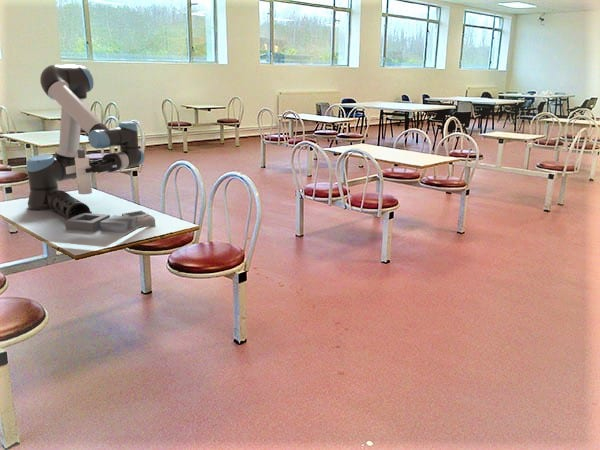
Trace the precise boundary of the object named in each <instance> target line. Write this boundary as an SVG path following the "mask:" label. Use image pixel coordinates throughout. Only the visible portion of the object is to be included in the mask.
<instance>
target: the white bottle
mask: <svg viewBox="0 0 600 450" xmlns="http://www.w3.org/2000/svg"><path fill="white" fill-rule="evenodd" d="M85 150H86V149H85V148H82V149H80V148H79V150H77V152H78V157H75V166H76V176H77V178H76V183H77V192H78V194H79V195H91V194H93V189H92V179H91V173H89V174H84V175H80V176H78V173H77V168H82V167H86V166H89V160H90V158H89V156H86V151H85Z"/></svg>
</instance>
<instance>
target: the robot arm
mask: <svg viewBox="0 0 600 450" xmlns="http://www.w3.org/2000/svg"><path fill="white" fill-rule="evenodd" d="M39 80H40V81H39V82H40V86H41V88H42V90H43V92H44V93H45V94H46V96H48V97H49V99H51V100H53V101H56V102H57V103H58V105H60V106H61V114H60V125H59V126H60V129H59V146H58V147H57V148H56V149H55V153H54V155H53V154H50V153H45V154H39V155H34V156H32V157H29V158H28V159H27V160H26V171H27V177H28V184H29V195H28V201H27V208H28V209H29V210H31V211H32V210H34V211H48V210H52V209H51V208H50V207H49V205H48V197H49V195H50V194H51V193H53V192H55V191H59V186H58V183H59V182H62V181H67V180H75V179H77V176H76V166H75V157H78V152H77V150H79V149H80V142H81V141H80V138H81V129H83V131H84V132H85V133H86V134H87V135H88V136H87V137H88V138H87V139H88V142H89V145H90V146H91V147H92V148H93V149H97V150H99V149H107V148H112V147H119V148H120V151H116V152H112V153H110V152H109V153H107V154H104V155H103V157H102V158H100V159H96V160H95V159H94V160H93V159H89V166H86V167H82V168H77V173H78V176H80V175H84V174H89V173H90V174H92V173H94V174H95V173H97V174H100V173H104V172H109V173H114V172H117V171H119V172H122V171H123V170H125V169H129V168H130V169H131V168H133V167H137V166H141V164H143V163H144V162H145V154H144V152H143V150H142V149H141V148H139V138H138V137H139V134H138V127H137V123H136V122H135V121H121V122H119V123H118V126H117V127H112V128H111V127H110V128H108V127H107V126H106V125H105V124H104V122H102V121H101V120H100V119H99V118H98V116H96V115H95V114H94V112H93V111H92V110H91V109H90V108H89V107H88V106H87V105H86V104H85V102H84V101H85V100H86V99H87V94H88V93H89V92H91V91H92V90H93V88H94V84H95V83H94V78H93V75H92V73H91V71H90V70H89V69H88V68H87V67H85V66H83V65H77V64H52V65H49V66H46V67H45V68H44V69H43V70H42V72H41V74H40V79H39Z"/></svg>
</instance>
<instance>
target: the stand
mask: <svg viewBox="0 0 600 450" xmlns="http://www.w3.org/2000/svg"><path fill="white" fill-rule="evenodd" d="M100 226H101V228H100V231H101V232H112V233H122V234H125V233H127V232H128V231H130V230H131V229H134V228H135V227H137V226H138V225H137V217H130V216H122V215H115V214H114V215H110V217H109V218H107V219H105V220H103V221H101V222H100ZM136 230H137V228H135V229H134V230H132V231H130V232H128V233H127V234H125V235H124V237H126V236H127V235H128V236H129V235H130V234H131V233H133V232H134V231H136Z"/></svg>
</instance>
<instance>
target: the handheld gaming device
mask: <svg viewBox="0 0 600 450" xmlns="http://www.w3.org/2000/svg"><path fill="white" fill-rule="evenodd" d="M121 216H130V217H137V226H139V227H138V229H141V228H142V229H143V228H147V227H153V226H155V225H156V219H155V217H154V216H153V215H151V214H149V213H147V212H145V211H143V210H135V211H131V212H123V213H121Z"/></svg>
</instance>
